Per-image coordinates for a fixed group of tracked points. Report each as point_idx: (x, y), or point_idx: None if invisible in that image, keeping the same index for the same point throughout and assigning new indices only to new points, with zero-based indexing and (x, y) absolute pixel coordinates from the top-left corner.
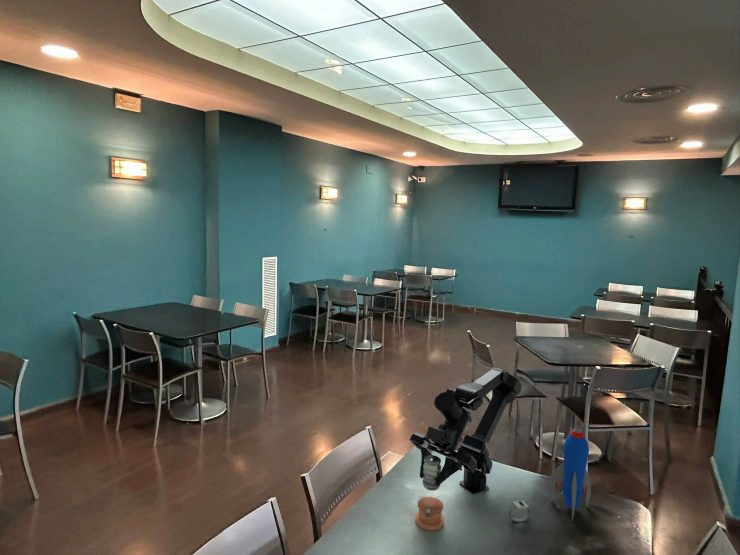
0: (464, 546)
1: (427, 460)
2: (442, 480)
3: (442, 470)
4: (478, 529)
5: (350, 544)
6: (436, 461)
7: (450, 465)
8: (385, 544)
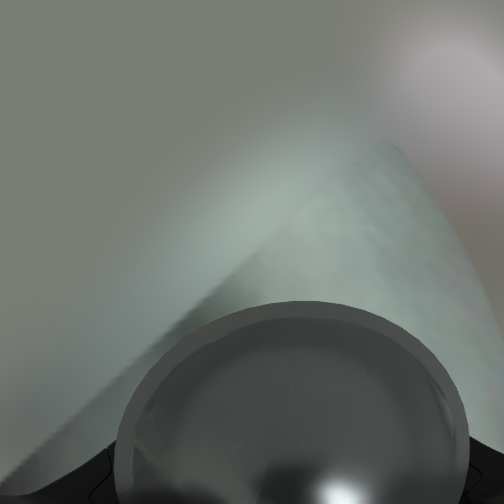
0: (111, 393)
1: (350, 361)
2: None
3: None
4: None
5: (361, 173)
6: (179, 468)
7: (8, 499)
8: (304, 228)
